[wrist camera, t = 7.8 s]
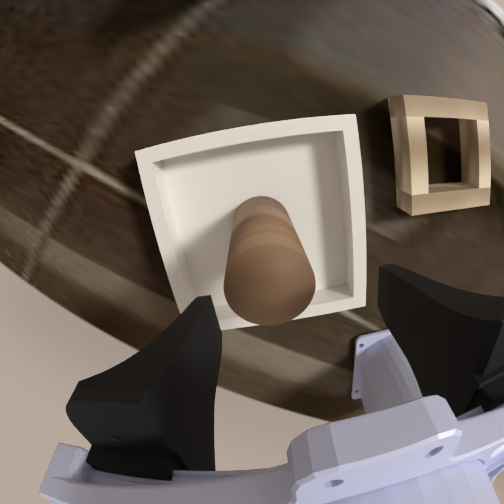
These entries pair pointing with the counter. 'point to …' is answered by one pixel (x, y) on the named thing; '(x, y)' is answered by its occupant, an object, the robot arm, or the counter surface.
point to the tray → (260, 184)
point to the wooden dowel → (266, 265)
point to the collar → (415, 154)
